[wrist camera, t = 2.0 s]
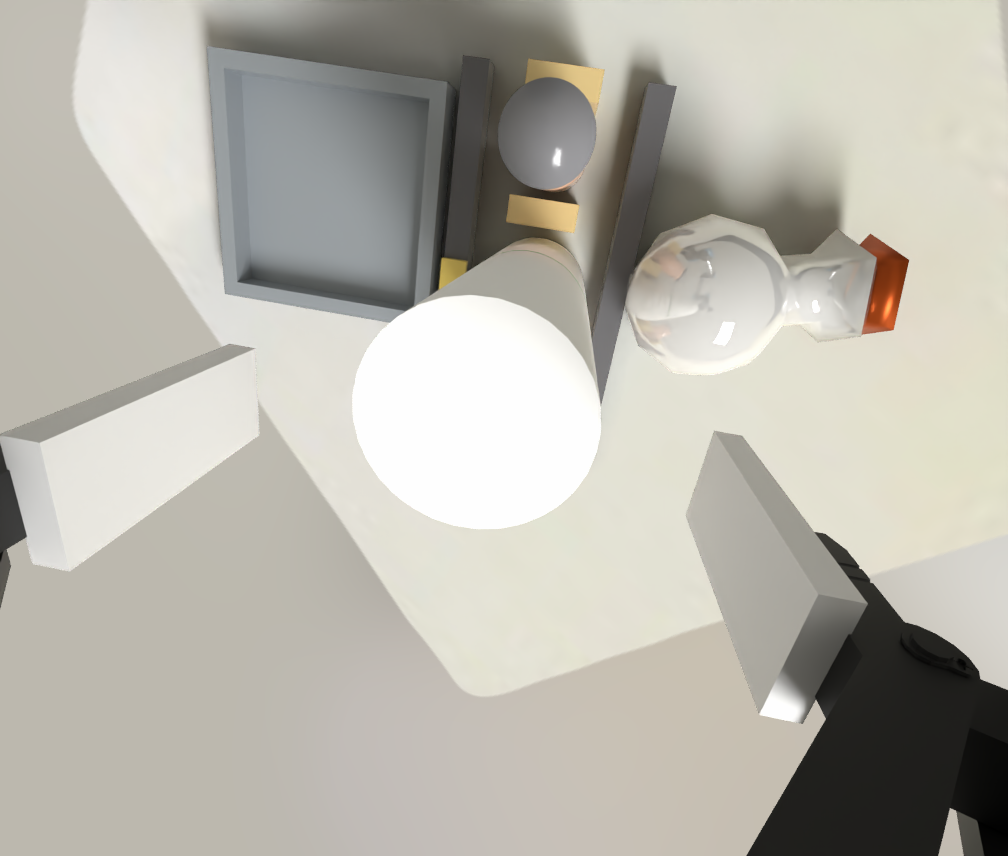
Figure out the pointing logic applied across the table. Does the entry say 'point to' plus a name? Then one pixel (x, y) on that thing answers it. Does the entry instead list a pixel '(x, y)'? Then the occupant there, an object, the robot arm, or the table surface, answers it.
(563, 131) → the cylinder
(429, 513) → the cylindrical container
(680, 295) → the potion bottle
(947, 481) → the table surface
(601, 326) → the fuse holder
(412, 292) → the tray
